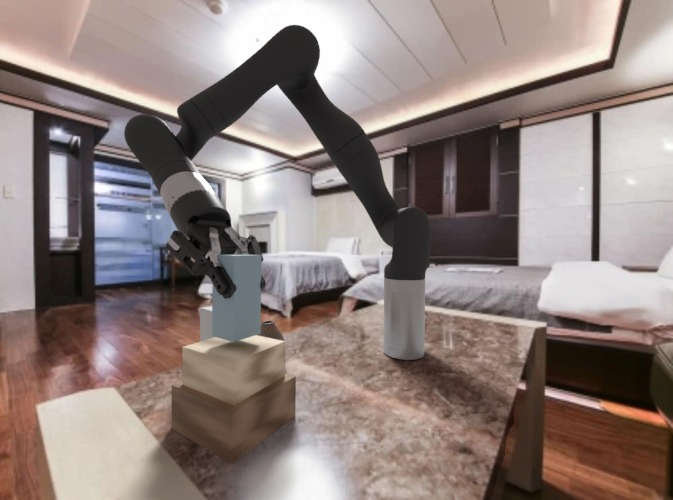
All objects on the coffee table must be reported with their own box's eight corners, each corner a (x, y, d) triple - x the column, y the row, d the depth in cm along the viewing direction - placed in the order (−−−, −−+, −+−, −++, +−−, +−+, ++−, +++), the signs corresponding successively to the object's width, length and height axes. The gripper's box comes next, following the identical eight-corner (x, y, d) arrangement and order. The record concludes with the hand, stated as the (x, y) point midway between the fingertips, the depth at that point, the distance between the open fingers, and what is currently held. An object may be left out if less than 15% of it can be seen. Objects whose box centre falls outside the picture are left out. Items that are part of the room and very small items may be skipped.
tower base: (238, 395, 48) (239, 358, 48) (295, 418, 42) (295, 376, 42) (171, 430, 39) (171, 384, 39) (230, 466, 32) (231, 412, 32)
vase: (276, 372, 56) (277, 327, 56) (243, 369, 57) (244, 325, 57) (289, 359, 63) (290, 318, 63) (259, 356, 64) (260, 317, 64)
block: (239, 328, 43) (240, 254, 43) (260, 333, 41) (261, 255, 41) (212, 335, 40) (212, 254, 40) (233, 342, 37) (234, 255, 37)
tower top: (236, 362, 47) (236, 330, 47) (284, 376, 42) (285, 341, 42) (182, 384, 39) (182, 346, 39) (234, 405, 34) (234, 362, 34)
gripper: (155, 179, 38) (211, 278, 32) (243, 196, 50) (297, 270, 44) (136, 221, 41) (183, 319, 35) (223, 227, 53) (271, 301, 47)
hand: (246, 291), depth 39 cm, fingers closed on block, 4 cm apart
